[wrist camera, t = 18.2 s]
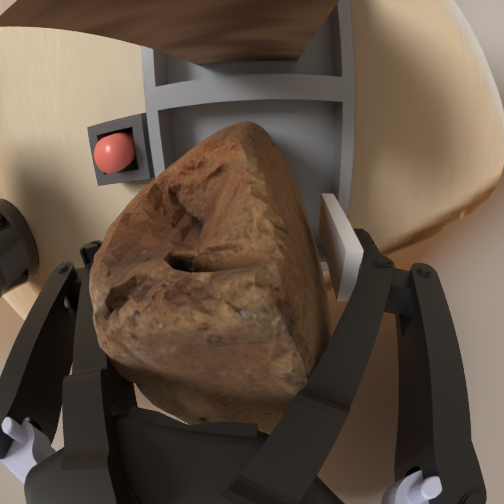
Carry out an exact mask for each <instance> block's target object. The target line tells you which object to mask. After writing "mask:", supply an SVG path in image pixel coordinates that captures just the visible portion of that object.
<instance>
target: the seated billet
mask: <svg viewBox="0 0 504 504" xmlns="http://www.w3.org/2000/svg"><path fill="white" fill-rule="evenodd" d="M338 2H339V0H0V27H5V26H22V27H42V28H54V29H63V30H70V31H77V32H83V33H89V34H95V35H100V36H104V37H109V38H113V39H118V40H122V41H126V42H130V43H133V44H137V45H140V46H144V47H147V48H151V49H154V50H157V51H160V52H163V53H166V54H169V55H172V56H175V57H178V58H180V59H183V60H186V61H188V62H191V63H194V64H196V65H199V66H208V65H216V64H226V63H237V62H254V61H298V60H299V58H300V56H301V55H302V53H303V52H304V50H305V49H306V47H307V46H308V44H309V43H310V41H311V40H312V39H313V37H314V36H315V34H316V33H317V31H318V30H319V28H320V27H321V25H322V24H323V23H324V21H325V20H326V18H327V17H328V16H329V14H330V13H331V11H332V10H333V9H334V7H335V6H336V5H337V3H338Z"/></svg>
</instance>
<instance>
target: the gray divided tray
mask: <svg viewBox="0 0 504 504" xmlns="http://www.w3.org/2000/svg"><path fill="white" fill-rule="evenodd" d="M142 67H143V82H144V94H145V105H146V114H147V123H148V131H149V139H150V146H151V153H152V160H153V166H154V173H155V179H156V177H157V176H158V175H159V174H160V173H162V172H163V171H164V170H165V169H167V168H168V167H169V166H170V165H171V164H173V163H174V162H176V161H177V160H178V159H180V158H181V157H182V156H183V155H185V154H186V153H187V152H188V151H189V150H191V149H192V148H193V147H195V146H196V145H197V144H199V143H200V142H201V141H203V140H204V139H206V138H207V137H208V136H210V135H212V134H214V133H215V132H217V131H219V130H221V129H223V128H225V127H227V126H229V125H232V124H235V123H239V122H244V121H249V122H253V123H256V124H258V125H259V126H261V127H262V128H264V129H265V131H266V132H267V133H268V134H269V135H270V136H271V138H272V139H273V141H274V142H275V143H276V145H277V147H278V148H279V150H280V152H281V153H282V155H283V156H284V158H285V160H286V162H287V164H288V166H289V168H290V170H291V173H292V175H293V177H294V179H295V182H296V184H297V186H298V189H299V191H300V194H301V196H302V199H303V202H304V205H305V208H306V211H307V214H308V218H309V221H310V225H311V228H312V232H313V235H314V238H315V242H316V246H317V251H318V255H319V259H320V263H321V267H322V271H329V268H328V264H327V261H326V257H325V253H324V250H323V246H322V243H321V239H320V236H319V222H320V207H321V193H326V194H334V196H335V197H336V199H337V201H338V203H339V205H340V206H341V208H342V210H343V212H344V214H345V215H346V217H347V219H348V213H349V204H350V194H351V184H352V171H353V157H354V138H355V57H354V40H353V27H352V17H351V7H350V0H339V2H338V3H337V5H336V6H335V7H334V9H333V10H332V11H331V13H330V14H329V16H328V17H327V18H326V20H325V21H324V23H323V24H322V25H321V27H320V28H319V30H318V31H317V33H316V34H315V36H314V37H313V39H312V40H311V41H310V43H309V44H308V46H307V47H306V49H305V50H304V52H303V53H302V55H301V56H300V58H299V60H298V61H254V62H237V63H226V64H216V65H208V66H199V65H196V64H194V63H191V62H188V61H186V60H183V59H180V58H178V57H175V56H172V55H169V54H166V53H163V52H160V51H157V50H154V49H151V48H147V47H144V46H142Z"/></svg>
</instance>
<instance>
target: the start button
mask: <svg viewBox="0 0 504 504" xmlns="http://www.w3.org/2000/svg"><path fill="white" fill-rule="evenodd" d="M94 159H95V162H96V165H97V166H98V168H99V169H100V170H101V171H103V172H104V173H107V174H113V173H116V172H118V171H120V170H121V169H123V168H125V167H126V166H128V165H130V164H132V163H133V162H135V161H137V156H136V150H135V143H134V136H133V131H131V130H125V131H122V132H118V133H115V134H113V135H110V136H107V137H104V138H102V139H101V140H100V141H99V142H98V143H97V144H96V147H95V150H94Z"/></svg>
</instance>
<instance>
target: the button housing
mask: <svg viewBox="0 0 504 504" xmlns="http://www.w3.org/2000/svg"><path fill="white" fill-rule="evenodd" d="M129 127H132V128H133V136H134V143H135V150H136V156H137V162H138V163H137V164H130V165H128V166H126V167H125V168H123V169H121V170H120V171H118V172H116V173H113V174H107V173H104V172H103V171H101V170H100V169H99V168H98V166H97V165H96V162H95V159H94V150H95V147H96V144H97V143H98V142H99V141H100V140H101V139H102V138H104V137H107V136H110V135H113V131H115V130H120V129H124V128H129ZM87 128H88V135H89V141H90V147H91V153H92V158H93V163H94V168H95V173H96V178H97V182H98V186H101V185H107V184H114V183H122V182H129V181H138V180H147V179H151V178H152V177H154V176H155V173H154V166H153V160H152V153H151V146H150V139H149V131H148V123H147V114H146V113H142V114H137V115H133V116H128V117H124V118H120V119H116V120H112V121H108V122H104V123H101V124H97V125H94V126H90V127H87Z"/></svg>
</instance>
